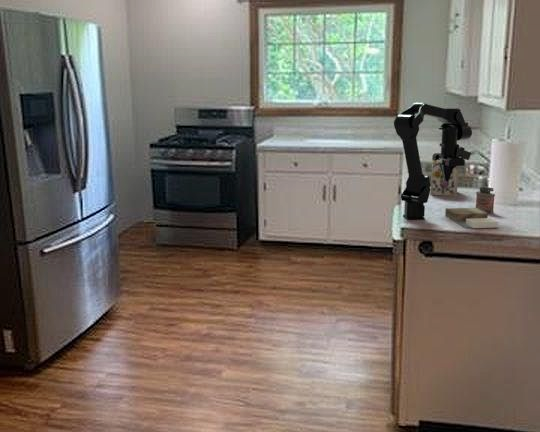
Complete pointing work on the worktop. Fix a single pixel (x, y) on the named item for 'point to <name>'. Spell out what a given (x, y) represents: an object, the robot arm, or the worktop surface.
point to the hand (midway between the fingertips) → (446, 181)
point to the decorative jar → (443, 181)
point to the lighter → (485, 199)
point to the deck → (464, 213)
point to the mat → (463, 224)
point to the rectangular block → (482, 223)
